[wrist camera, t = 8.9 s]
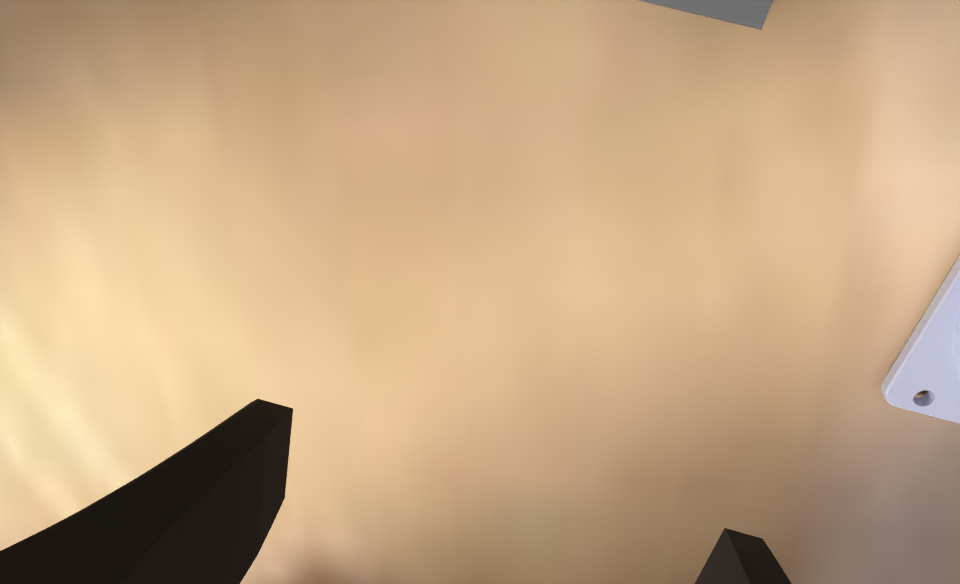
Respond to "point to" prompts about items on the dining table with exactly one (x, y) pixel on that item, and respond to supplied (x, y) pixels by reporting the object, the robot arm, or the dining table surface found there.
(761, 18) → the grey tray
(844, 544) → the dining table surface
